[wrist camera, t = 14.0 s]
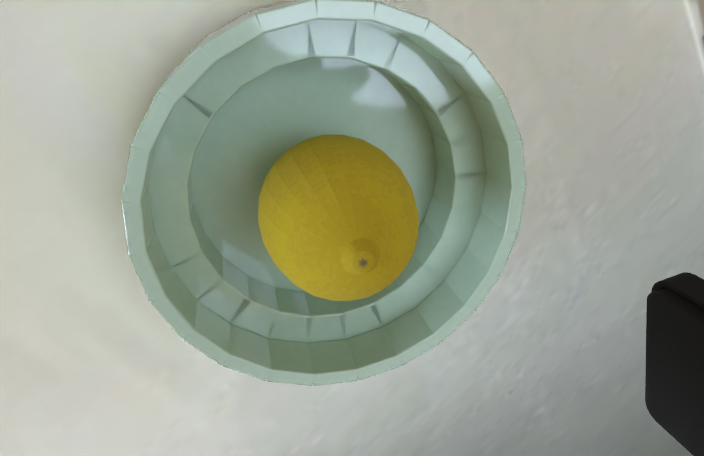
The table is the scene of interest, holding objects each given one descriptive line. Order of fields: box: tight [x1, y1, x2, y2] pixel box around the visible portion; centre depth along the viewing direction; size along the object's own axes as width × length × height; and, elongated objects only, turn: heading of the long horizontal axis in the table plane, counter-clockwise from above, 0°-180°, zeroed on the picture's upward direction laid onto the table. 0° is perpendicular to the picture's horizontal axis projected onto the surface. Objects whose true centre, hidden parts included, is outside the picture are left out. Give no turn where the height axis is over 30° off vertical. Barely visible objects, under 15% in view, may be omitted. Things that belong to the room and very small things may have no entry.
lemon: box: [258, 134, 419, 301], centre depth 19 cm, size 6×6×8 cm
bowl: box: [121, 0, 526, 386], centre depth 21 cm, size 14×14×5 cm
